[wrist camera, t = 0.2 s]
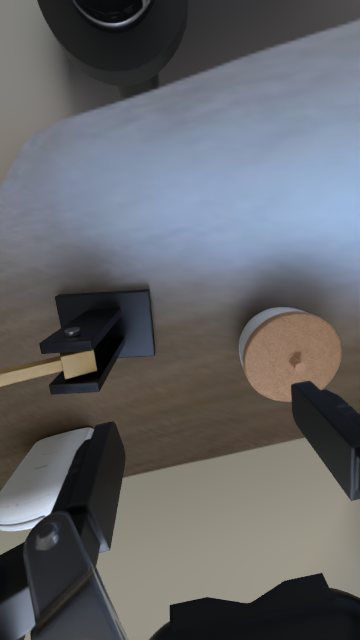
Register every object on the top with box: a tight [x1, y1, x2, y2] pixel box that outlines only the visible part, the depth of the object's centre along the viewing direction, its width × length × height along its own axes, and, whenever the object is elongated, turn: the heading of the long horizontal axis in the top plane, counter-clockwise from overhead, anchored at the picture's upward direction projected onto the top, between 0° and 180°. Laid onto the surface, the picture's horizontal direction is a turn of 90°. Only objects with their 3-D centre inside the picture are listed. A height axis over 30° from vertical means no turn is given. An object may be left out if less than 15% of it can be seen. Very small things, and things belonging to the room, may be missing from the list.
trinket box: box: [239, 307, 342, 402], centre depth 30 cm, size 11×11×9 cm
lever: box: [0, 350, 97, 387], centre depth 21 cm, size 14×3×3 cm, turn 93°
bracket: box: [39, 290, 155, 394], centre depth 28 cm, size 12×9×13 cm
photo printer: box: [0, 427, 94, 531], centre depth 33 cm, size 10×4×12 cm, turn 106°
